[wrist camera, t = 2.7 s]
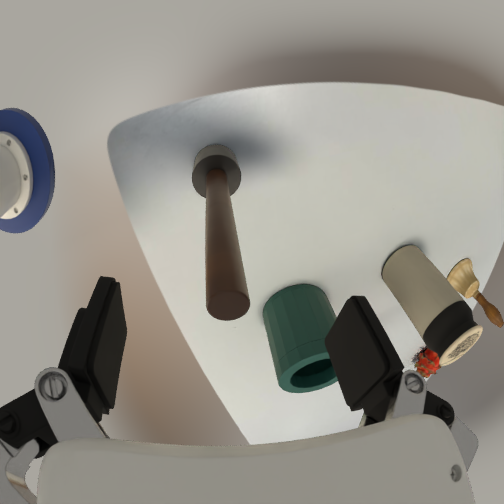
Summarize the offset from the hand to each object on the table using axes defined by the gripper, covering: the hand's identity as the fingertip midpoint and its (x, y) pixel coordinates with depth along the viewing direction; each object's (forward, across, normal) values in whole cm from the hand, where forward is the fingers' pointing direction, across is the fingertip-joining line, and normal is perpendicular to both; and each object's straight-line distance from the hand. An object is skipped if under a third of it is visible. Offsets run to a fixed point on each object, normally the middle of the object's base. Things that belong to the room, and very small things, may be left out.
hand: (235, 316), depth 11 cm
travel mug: (+21, -30, +10) cm, 38 cm away
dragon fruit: (+21, -62, +38) cm, 75 cm away
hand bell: (+21, -50, +11) cm, 56 cm away
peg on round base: (+20, 0, 0) cm, 21 cm away
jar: (+21, -14, +20) cm, 32 cm away
